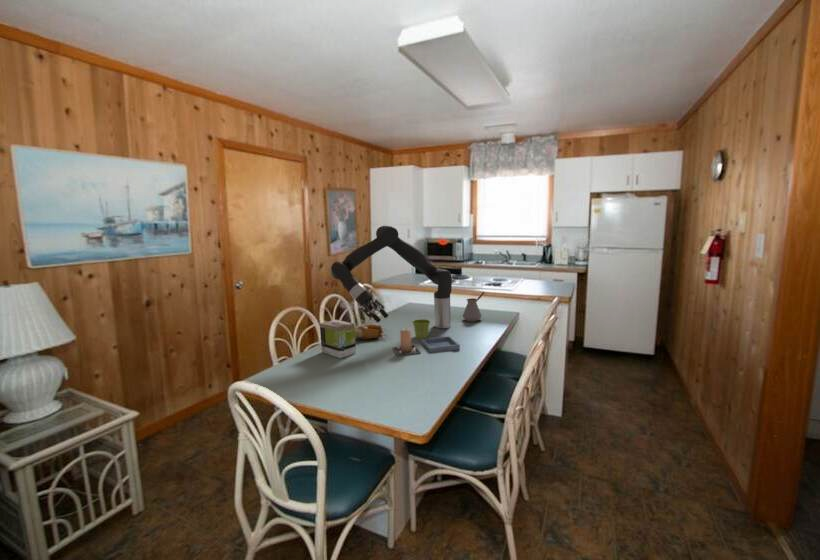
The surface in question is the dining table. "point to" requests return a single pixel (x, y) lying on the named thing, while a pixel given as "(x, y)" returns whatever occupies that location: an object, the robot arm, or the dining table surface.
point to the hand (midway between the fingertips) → (383, 319)
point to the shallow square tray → (440, 344)
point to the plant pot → (421, 328)
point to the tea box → (338, 338)
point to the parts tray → (399, 353)
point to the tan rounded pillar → (405, 340)
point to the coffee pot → (472, 310)
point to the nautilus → (369, 331)
